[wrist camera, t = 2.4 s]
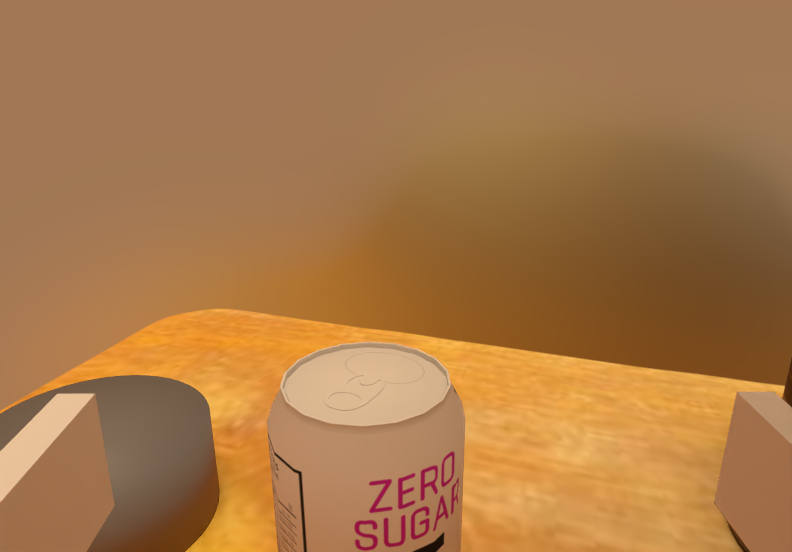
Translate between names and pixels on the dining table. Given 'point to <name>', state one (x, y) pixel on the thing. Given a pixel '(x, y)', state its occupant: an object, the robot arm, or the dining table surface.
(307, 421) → the supplement can
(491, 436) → the dining table surface
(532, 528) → the dining table surface
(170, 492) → the grey disc
